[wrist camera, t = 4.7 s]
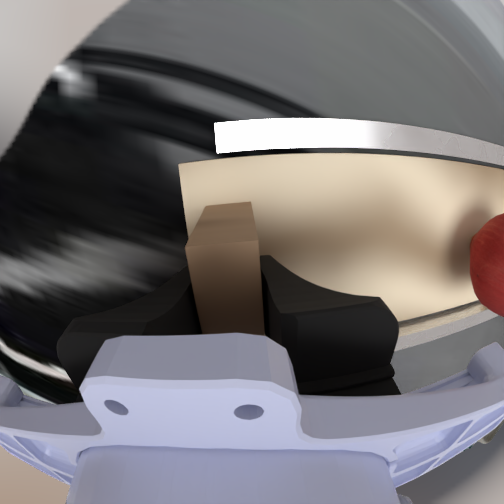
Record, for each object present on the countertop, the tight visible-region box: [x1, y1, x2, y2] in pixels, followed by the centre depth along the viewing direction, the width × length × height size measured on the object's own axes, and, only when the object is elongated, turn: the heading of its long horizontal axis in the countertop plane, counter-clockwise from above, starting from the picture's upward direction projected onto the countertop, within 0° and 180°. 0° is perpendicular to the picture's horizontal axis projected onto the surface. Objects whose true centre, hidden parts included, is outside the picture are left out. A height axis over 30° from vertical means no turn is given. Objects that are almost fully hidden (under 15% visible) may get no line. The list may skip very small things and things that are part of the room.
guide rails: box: [215, 118, 504, 351], centre depth 13 cm, size 13×30×2 cm, turn 94°
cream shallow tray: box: [178, 153, 504, 336], centre depth 11 cm, size 10×22×6 cm, turn 94°
